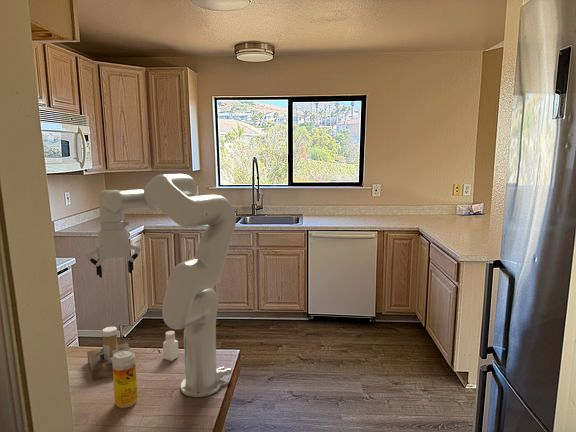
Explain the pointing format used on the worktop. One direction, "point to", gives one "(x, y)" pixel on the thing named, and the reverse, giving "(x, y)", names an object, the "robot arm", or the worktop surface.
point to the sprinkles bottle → (109, 342)
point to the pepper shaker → (170, 346)
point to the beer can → (124, 378)
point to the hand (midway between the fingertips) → (115, 274)
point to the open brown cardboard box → (102, 363)
